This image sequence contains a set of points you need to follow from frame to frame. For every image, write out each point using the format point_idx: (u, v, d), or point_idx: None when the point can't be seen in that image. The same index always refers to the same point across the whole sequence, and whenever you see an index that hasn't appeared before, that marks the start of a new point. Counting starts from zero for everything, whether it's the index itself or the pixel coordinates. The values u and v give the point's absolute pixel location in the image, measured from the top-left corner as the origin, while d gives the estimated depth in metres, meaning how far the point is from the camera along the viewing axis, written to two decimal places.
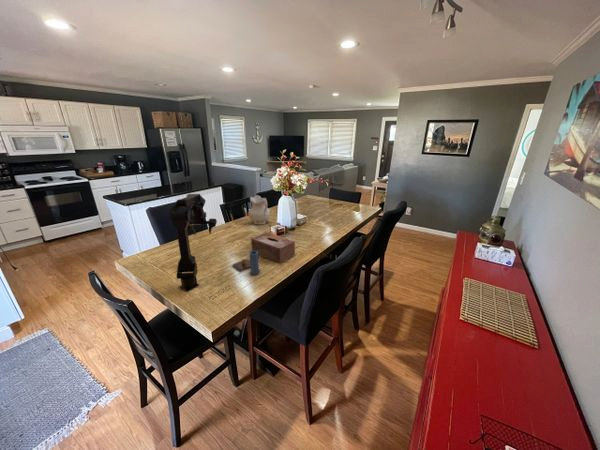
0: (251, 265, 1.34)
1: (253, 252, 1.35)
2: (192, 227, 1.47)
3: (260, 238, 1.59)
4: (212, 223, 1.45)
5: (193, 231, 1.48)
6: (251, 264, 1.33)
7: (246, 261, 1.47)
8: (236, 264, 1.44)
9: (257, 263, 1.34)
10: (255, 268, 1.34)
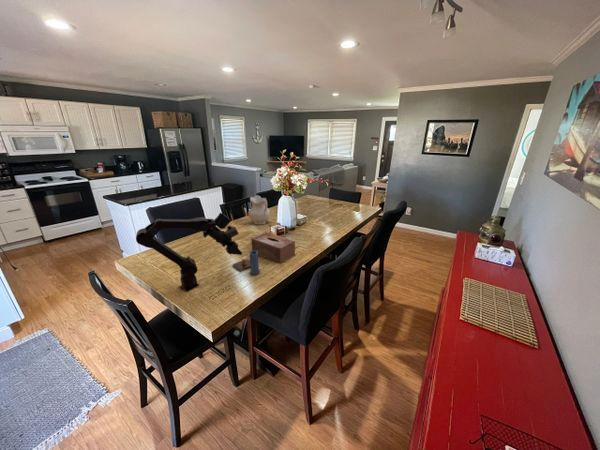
0: (251, 265, 1.34)
1: (253, 252, 1.35)
2: None
3: (260, 238, 1.59)
4: (227, 250, 1.20)
5: None
6: (251, 264, 1.33)
7: (246, 261, 1.47)
8: (236, 264, 1.44)
9: (257, 263, 1.34)
10: (255, 268, 1.34)
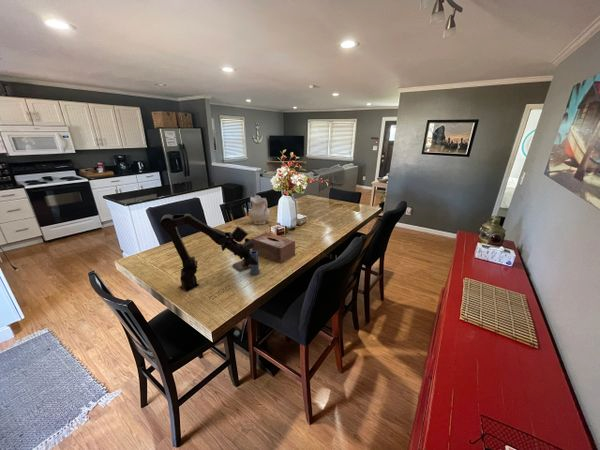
0: (251, 265, 1.34)
1: (253, 252, 1.35)
2: None
3: (260, 238, 1.59)
4: (243, 263, 1.24)
5: None
6: None
7: None
8: (236, 264, 1.44)
9: None
10: (255, 268, 1.34)
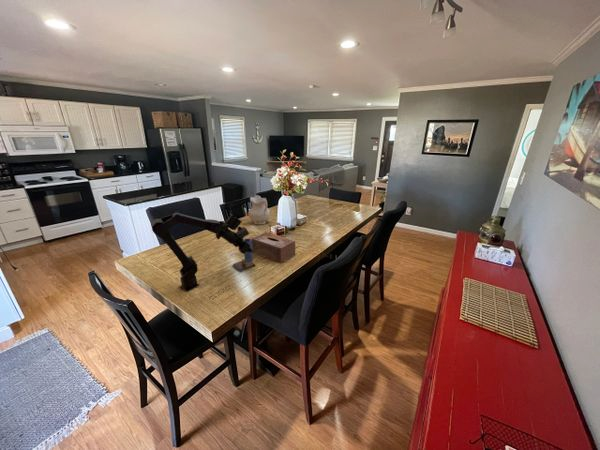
0: (245, 253, 1.36)
1: (246, 240, 1.37)
2: None
3: (260, 238, 1.59)
4: (240, 250, 1.26)
5: None
6: (245, 252, 1.36)
7: None
8: (236, 264, 1.44)
9: None
10: (249, 255, 1.37)
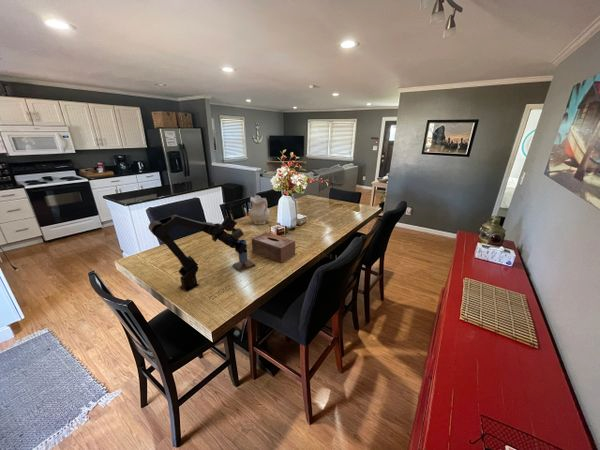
0: None
1: (240, 241, 1.41)
2: None
3: (260, 238, 1.59)
4: (237, 251, 1.29)
5: None
6: None
7: None
8: (236, 264, 1.44)
9: None
10: (244, 256, 1.40)
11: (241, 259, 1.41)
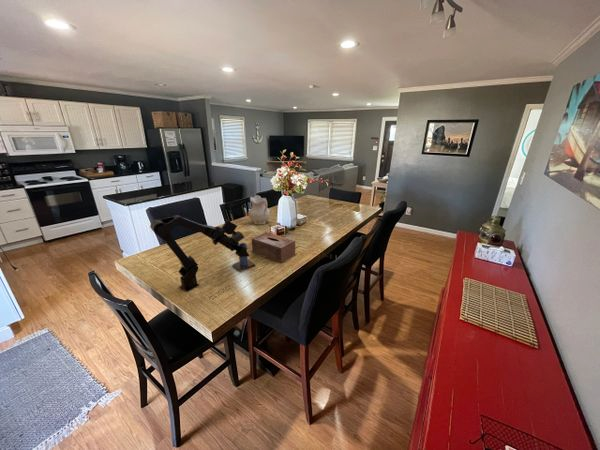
0: (241, 257, 1.40)
1: (241, 244, 1.41)
2: None
3: (260, 238, 1.59)
4: (237, 254, 1.30)
5: None
6: None
7: None
8: (236, 264, 1.44)
9: None
10: (245, 259, 1.41)
11: (242, 263, 1.41)
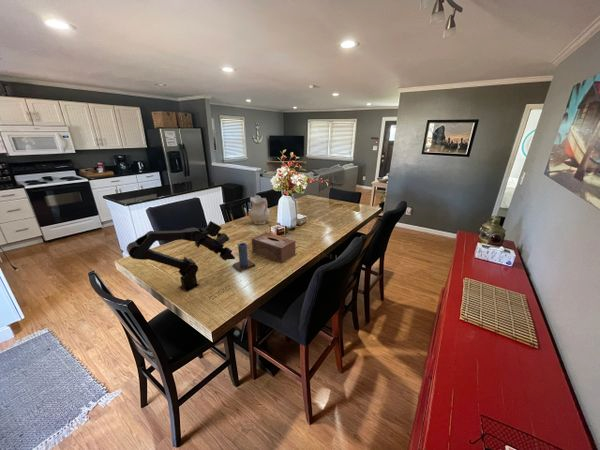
0: (241, 257, 1.40)
1: (241, 244, 1.41)
2: None
3: (260, 238, 1.59)
4: (221, 257, 1.24)
5: (221, 252, 1.37)
6: (241, 256, 1.40)
7: None
8: (236, 264, 1.44)
9: (246, 254, 1.42)
10: (245, 259, 1.41)
11: (242, 263, 1.41)
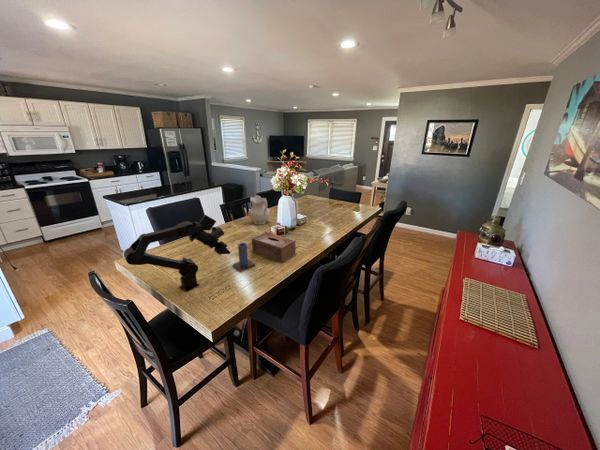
0: (241, 257, 1.40)
1: (241, 244, 1.41)
2: None
3: (260, 238, 1.59)
4: (216, 251, 1.21)
5: None
6: (241, 256, 1.40)
7: None
8: (236, 264, 1.44)
9: (246, 254, 1.42)
10: (245, 259, 1.41)
11: (242, 263, 1.41)
